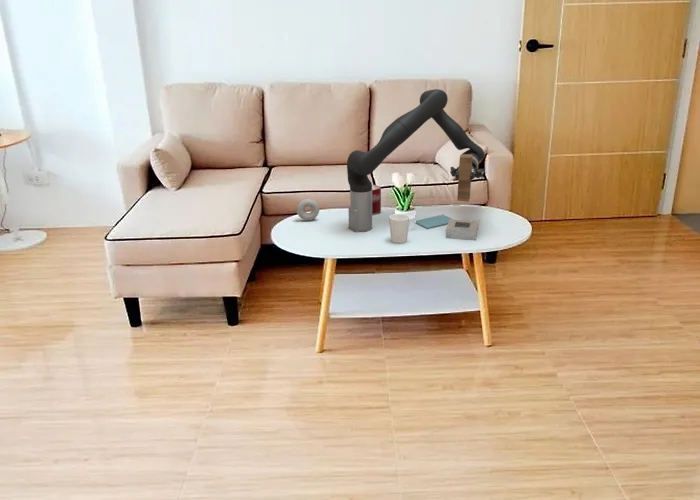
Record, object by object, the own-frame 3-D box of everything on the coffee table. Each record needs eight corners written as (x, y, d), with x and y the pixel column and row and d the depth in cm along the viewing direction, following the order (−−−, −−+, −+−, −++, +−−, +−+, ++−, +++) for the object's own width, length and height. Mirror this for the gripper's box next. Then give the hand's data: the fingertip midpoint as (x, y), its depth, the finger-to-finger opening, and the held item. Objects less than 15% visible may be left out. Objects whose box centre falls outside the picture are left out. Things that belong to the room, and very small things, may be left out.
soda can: (379, 215, 283) (379, 189, 278) (363, 214, 284) (363, 189, 280) (382, 210, 289) (382, 185, 285) (366, 209, 291) (366, 184, 286)
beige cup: (386, 242, 253) (386, 219, 249) (392, 235, 259) (393, 212, 255) (405, 244, 250) (405, 221, 246) (411, 238, 256) (411, 215, 253)
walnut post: (468, 201, 251) (471, 157, 244) (457, 200, 252) (459, 157, 245) (469, 198, 255) (472, 154, 248) (458, 197, 257) (461, 154, 249)
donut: (319, 218, 280) (318, 197, 277) (320, 220, 277) (319, 199, 273) (297, 219, 279) (295, 198, 275) (297, 222, 276) (296, 200, 272)
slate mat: (427, 229, 265) (427, 227, 265) (413, 222, 273) (413, 221, 273) (457, 222, 272) (457, 220, 272) (443, 215, 281) (443, 214, 280)
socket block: (475, 240, 253) (475, 231, 251) (445, 237, 256) (446, 228, 254) (477, 229, 263) (478, 221, 262) (449, 227, 266) (449, 218, 265)
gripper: (452, 156, 263) (446, 167, 248) (486, 158, 259) (483, 169, 244) (451, 173, 266) (445, 185, 251) (485, 175, 262) (482, 187, 247)
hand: (464, 177), depth 248 cm, fingers closed on walnut post, 4 cm apart
